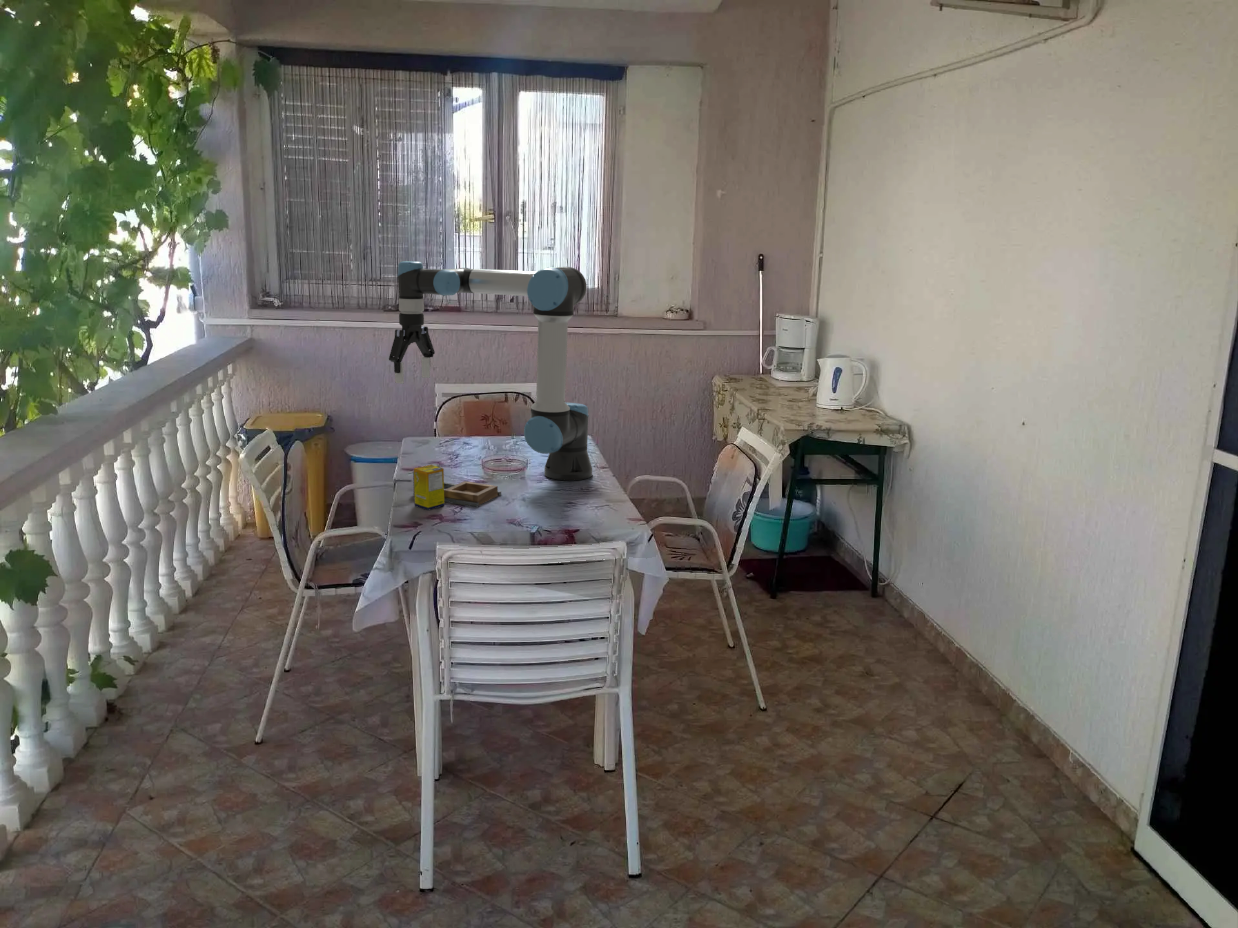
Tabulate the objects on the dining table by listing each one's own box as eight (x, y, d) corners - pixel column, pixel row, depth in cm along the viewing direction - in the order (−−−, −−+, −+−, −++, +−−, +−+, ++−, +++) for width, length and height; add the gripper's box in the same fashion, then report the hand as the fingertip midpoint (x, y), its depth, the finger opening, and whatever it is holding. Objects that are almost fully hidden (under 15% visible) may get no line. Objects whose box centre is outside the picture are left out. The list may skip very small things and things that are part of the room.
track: (501, 495, 270) (501, 471, 268) (476, 507, 257) (476, 483, 256) (436, 485, 278) (436, 462, 276) (409, 496, 265) (409, 472, 264)
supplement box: (430, 501, 261) (430, 464, 258) (444, 506, 258) (444, 468, 255) (414, 506, 257) (413, 467, 254) (428, 510, 253) (427, 472, 250)
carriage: (497, 496, 269) (497, 486, 268) (477, 505, 259) (477, 495, 258) (464, 490, 273) (464, 481, 272) (444, 500, 263) (443, 490, 262)
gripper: (425, 309, 300) (426, 374, 305) (375, 314, 278) (377, 384, 283) (444, 310, 297) (445, 376, 302) (395, 316, 275) (397, 387, 280)
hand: (413, 380), depth 293 cm, fingers open, 13 cm apart
